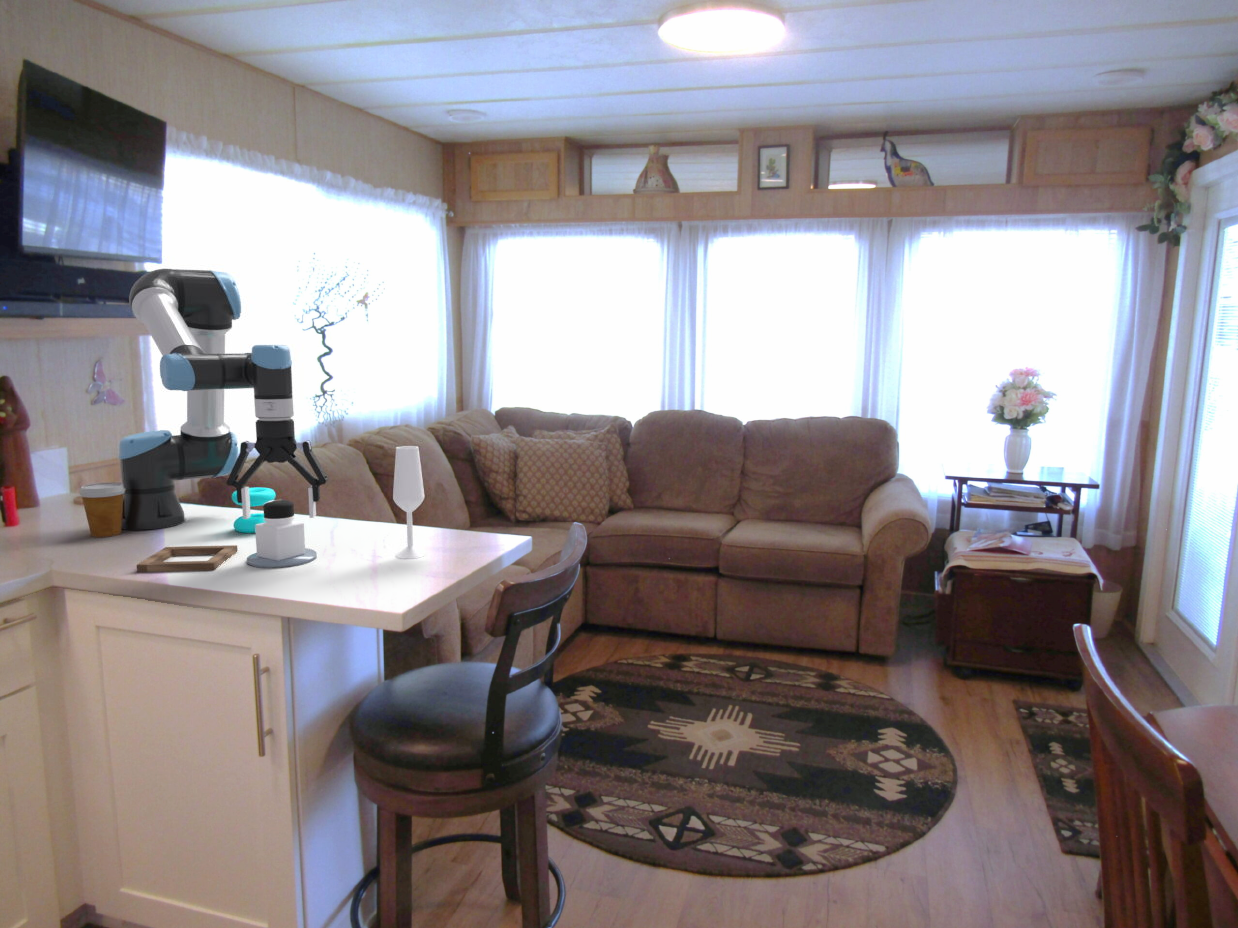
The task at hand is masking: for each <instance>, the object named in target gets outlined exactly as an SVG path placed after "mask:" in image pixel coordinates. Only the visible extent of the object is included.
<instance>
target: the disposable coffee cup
mask: <svg viewBox="0 0 1238 928" xmlns="http://www.w3.org/2000/svg"><path fill="white" fill-rule="evenodd" d="M125 490H126V489H125V488H124V487H123V484H122V482H109V481H108V482H96V483H95V482H94V483H90V484H84V485H82V486H80V490H79V492H78V493H79V495H80V497H81V499H82V503H83V506H84V507H83V508H84V511H85V515H86V520H87V523H88V527H89V533H90V536H91V537H94V538H106V537H107V538H108V537H114V536H118V535H120V534H122V530H123V529H122V512H123V495H124V493H125Z"/></svg>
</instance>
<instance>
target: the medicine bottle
mask: <svg viewBox="0 0 1238 928" xmlns="http://www.w3.org/2000/svg"><path fill="white" fill-rule="evenodd" d="M294 505H295V504H294V502H293V501H291V500H290V499H274V500H272V501H268V502H266V503H265V504H264V505H262V506H263V513H264V521H266V522H265V523H260V524H256V525H255V533H254V534H255V545H256V546H255V548H256V549H255V550H256V553H257V556H258V557H261V558H266V559H271V560H276V561H280V560H284V559H288V558H292V557H296V556H299V555H303V554H305V548H306V543H305V539H306V538H305V526H304V524H305V523H304V522H303V521H296V520H294V519H295V509H294V508H295V506H294Z"/></svg>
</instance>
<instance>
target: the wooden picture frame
mask: <svg viewBox="0 0 1238 928" xmlns="http://www.w3.org/2000/svg"><path fill="white" fill-rule="evenodd" d="M237 551H238V545H237V544H231V545H230V544H229V545H200V546H199V545H193V546H192V545H191V546H190V545H189V546H165V547H164V548H162V549H160V550H158V551H157V552H155V553H153V554H152V555H151V556H149V557H147V558H146V559H144V560H142V561H141V562H139V563H138V564H136V566H135V567H136V572H137V573H155V572H157V573H158V572H189V571H190V572H191V571H192V572H195V571H200V572H201V571H215V570H216V568H217V567H218V566H219V565H220V566H221V564H222V563H223V562H224V561H225V562H227V561H228V560H229V559H230V558H232V557H233V556H234V555H235V554H237V553H238V552H237ZM236 552H237V553H236ZM199 554H216V555H213V556H211V557H210V558H209V559H208V560H187V561H186V560H185V561H182V560H181V561H166V560H169V559H170V558H171V557H172V556H175V557H176V556H200V555H199ZM232 555H233V556H232ZM231 556H232V557H231ZM228 558H229V559H228ZM227 559H228V560H227ZM226 560H227V561H226ZM225 562H224V563H225ZM224 563H223V564H224ZM223 564H222V565H223ZM220 566H219V567H220ZM219 567H218V568H219ZM218 568H217V569H218Z"/></svg>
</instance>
